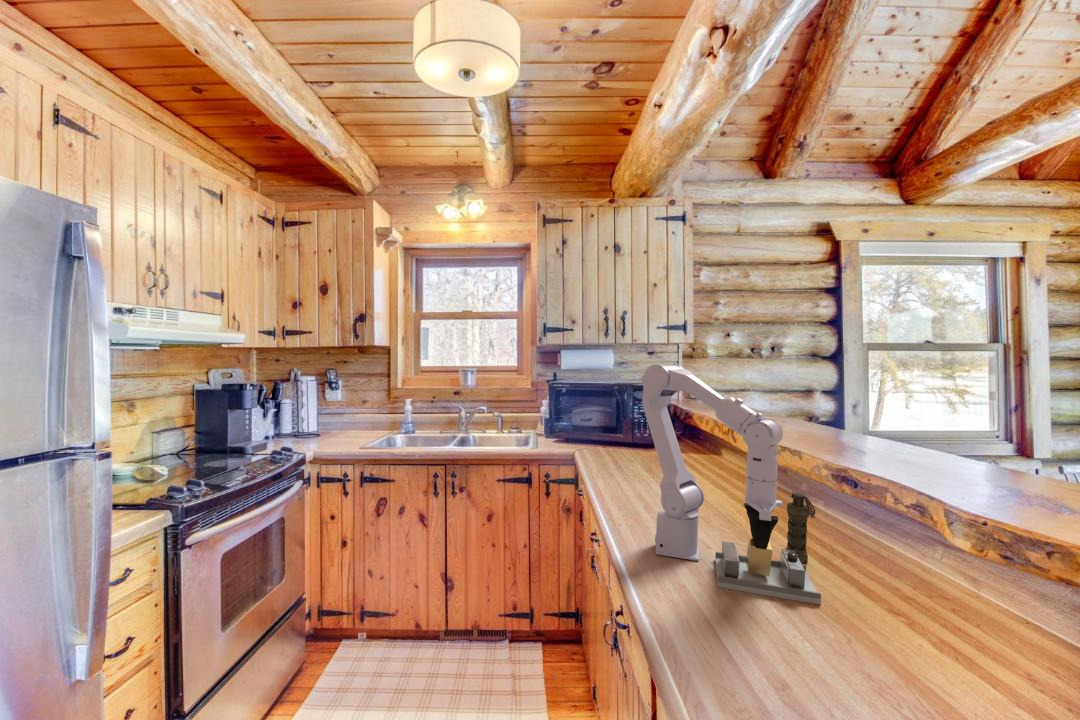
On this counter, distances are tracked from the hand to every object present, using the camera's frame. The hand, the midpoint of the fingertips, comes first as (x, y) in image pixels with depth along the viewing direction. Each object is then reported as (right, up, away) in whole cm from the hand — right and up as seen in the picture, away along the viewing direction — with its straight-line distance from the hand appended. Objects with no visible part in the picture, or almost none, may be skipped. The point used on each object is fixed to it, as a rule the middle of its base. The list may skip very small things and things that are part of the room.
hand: (759, 543), depth 97 cm
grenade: (+14, -8, +11) cm, 20 cm away
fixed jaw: (-5, -7, +2) cm, 9 cm away
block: (0, -6, 0) cm, 6 cm away
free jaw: (+6, -6, -2) cm, 9 cm away
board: (+1, -8, 0) cm, 7 cm away
